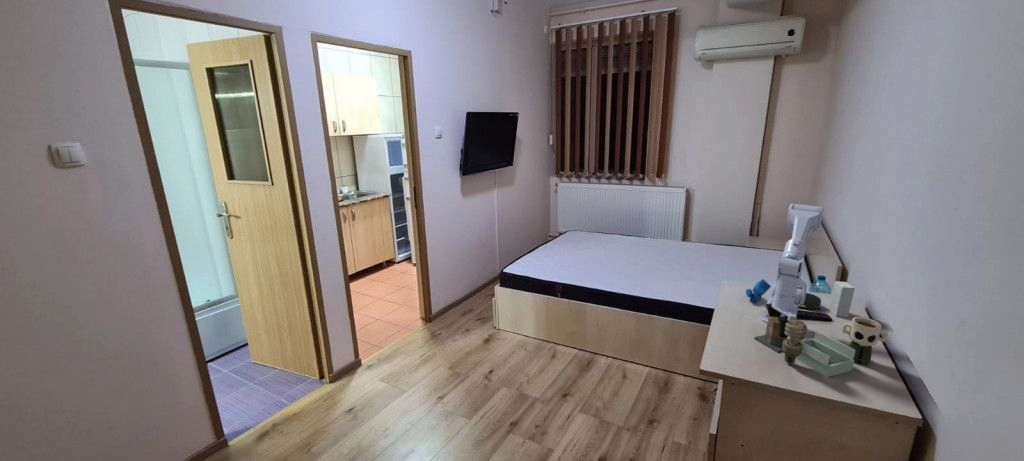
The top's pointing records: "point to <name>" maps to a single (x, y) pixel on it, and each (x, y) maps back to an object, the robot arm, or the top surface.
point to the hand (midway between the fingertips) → (778, 331)
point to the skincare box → (841, 299)
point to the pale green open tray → (826, 355)
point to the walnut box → (773, 331)
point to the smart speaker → (812, 301)
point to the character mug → (864, 337)
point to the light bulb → (793, 339)
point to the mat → (773, 346)
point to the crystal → (757, 291)
